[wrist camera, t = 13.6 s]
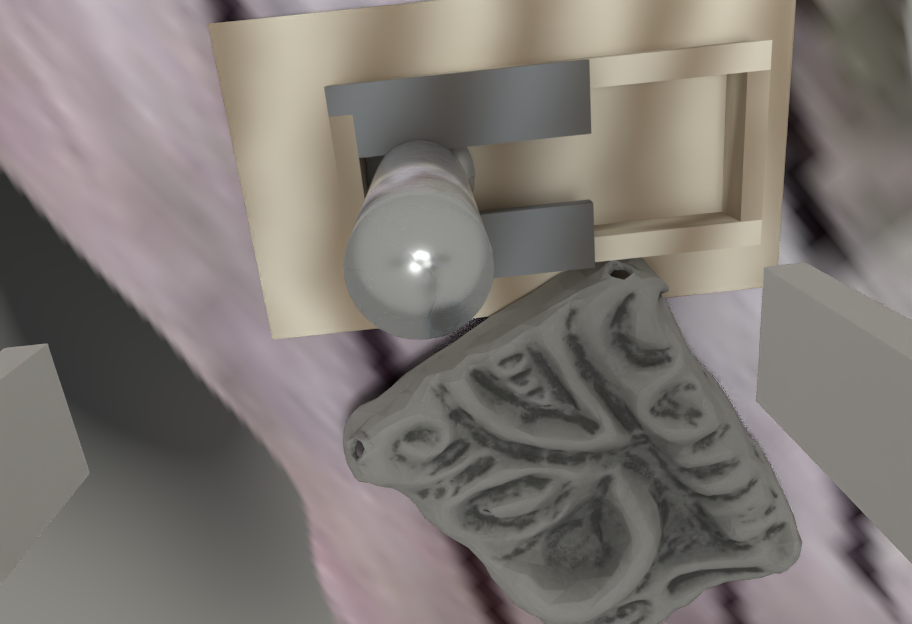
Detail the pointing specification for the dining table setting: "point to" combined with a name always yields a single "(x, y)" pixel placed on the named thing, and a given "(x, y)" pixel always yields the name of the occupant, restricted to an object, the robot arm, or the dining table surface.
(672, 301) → the dining table surface
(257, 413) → the dining table surface
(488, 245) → the peg
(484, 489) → the wall plaque
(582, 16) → the keyhole base
